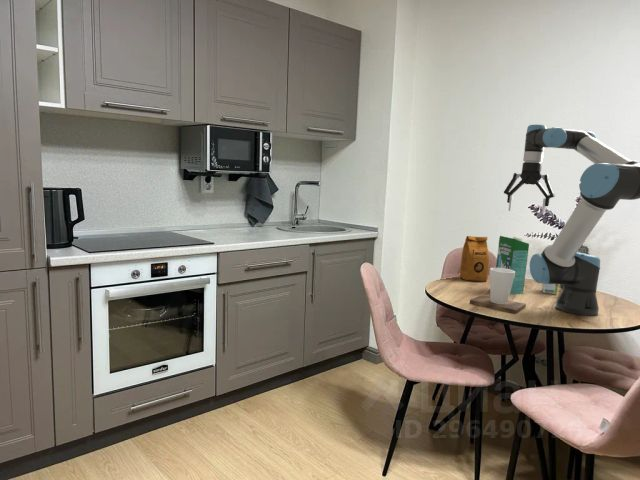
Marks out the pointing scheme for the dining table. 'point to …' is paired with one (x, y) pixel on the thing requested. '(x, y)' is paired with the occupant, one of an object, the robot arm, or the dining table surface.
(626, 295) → the dining table surface
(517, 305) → the walnut board
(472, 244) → the coffee package
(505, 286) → the foam cup
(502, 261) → the milk carton
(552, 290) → the syrup box
